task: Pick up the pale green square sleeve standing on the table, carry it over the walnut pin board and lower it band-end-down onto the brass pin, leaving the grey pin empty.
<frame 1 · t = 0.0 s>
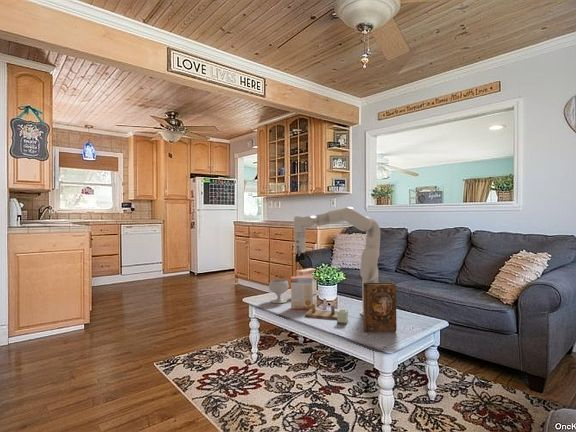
hand: (300, 261, 230), 31 cm above the table, tool pointing down, fingers open, 9 cm apart
chalice: (279, 301, 249), on the table
book: (379, 331, 186), on the table
cracker box: (302, 308, 230), on the table
coffeecake box: (306, 295, 268), on the table
pin board: (323, 315, 214), on the table
sleeve: (342, 323, 199), on the table
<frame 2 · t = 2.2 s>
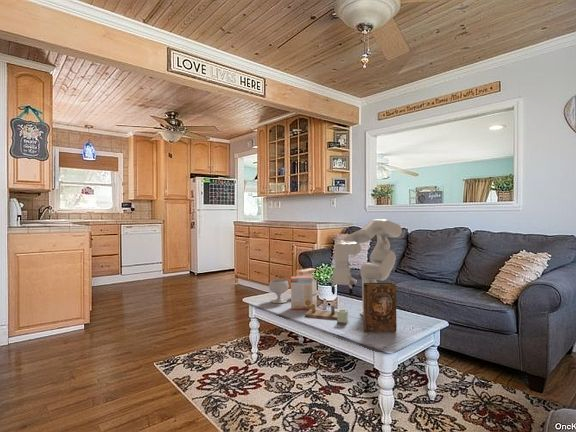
hand: (342, 294, 199), 16 cm above the table, tool pointing down, fingers open, 9 cm apart
nothing on the table moved.
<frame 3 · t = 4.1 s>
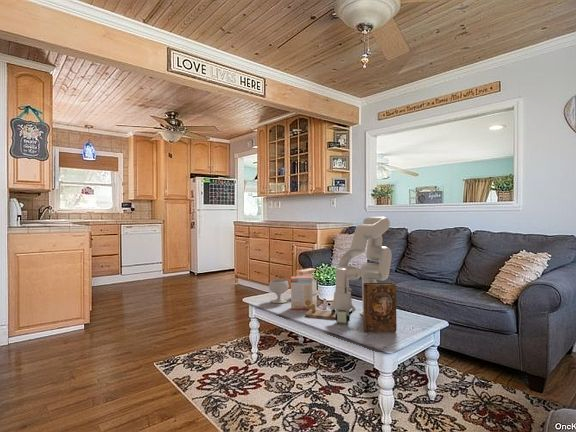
hand: (342, 321, 199), 1 cm above the table, tool pointing down, fingers closed on sleeve, 5 cm apart
sleeve: (342, 323, 199), on the table, touching gripper
everything else where it was.
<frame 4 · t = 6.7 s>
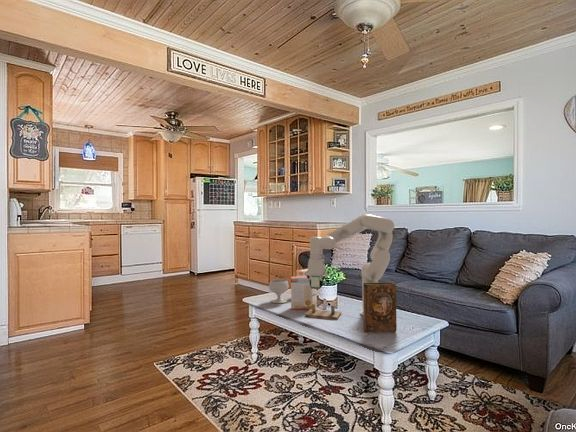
hand: (316, 286, 214), 18 cm above the table, tool pointing down, fingers closed on sleeve, 5 cm apart
sleeve: (316, 288, 214), point 17 cm above the table, touching gripper
everything else where it was.
when the fingers open (3 cm above the table, at t = 9.4 s): sleeve stays where it is, resting on pin board.
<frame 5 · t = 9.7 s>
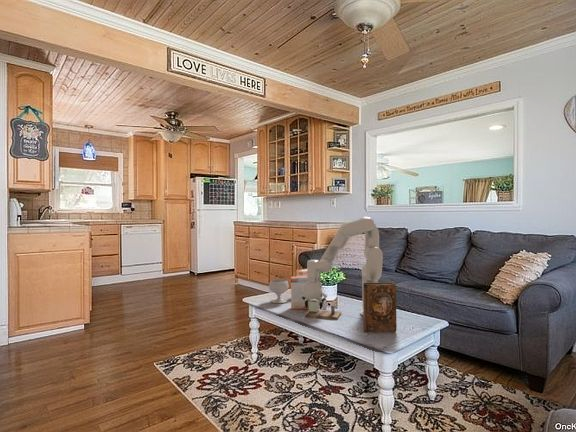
hand: (313, 308, 216), 4 cm above the table, tool pointing down, fingers open, 8 cm apart
sleeve: (313, 312, 216), point 1 cm above the table, touching pin board
everything else where it was.
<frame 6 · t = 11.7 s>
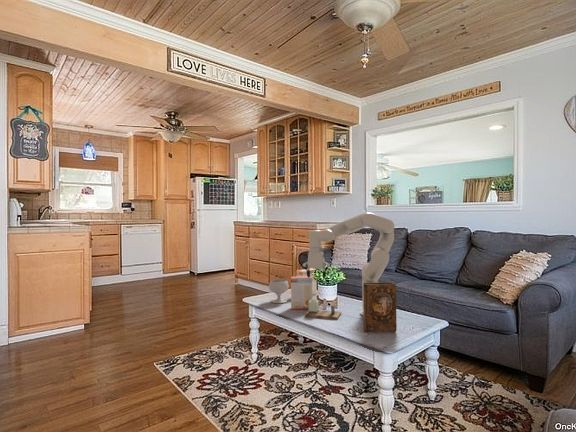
hand: (316, 277, 218), 23 cm above the table, tool pointing down, fingers open, 9 cm apart
nothing on the table moved.
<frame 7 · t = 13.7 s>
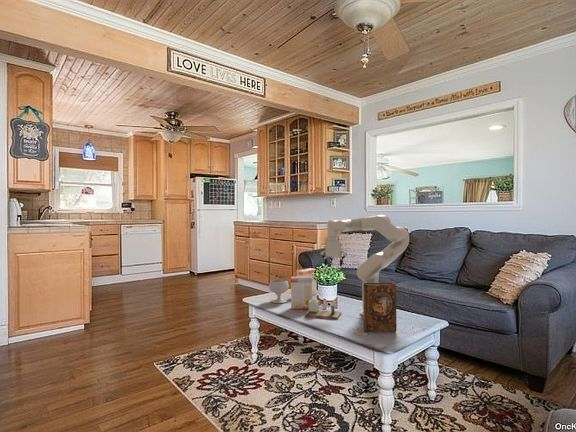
hand: (333, 265, 229), 28 cm above the table, tool pointing down, fingers open, 9 cm apart
nothing on the table moved.
at the end: sleeve 0.1 cm from the target spot on the pin board, point 1.5 cm above the pin board's base; sleeve tilted 0°; the gripper is holding nothing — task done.
